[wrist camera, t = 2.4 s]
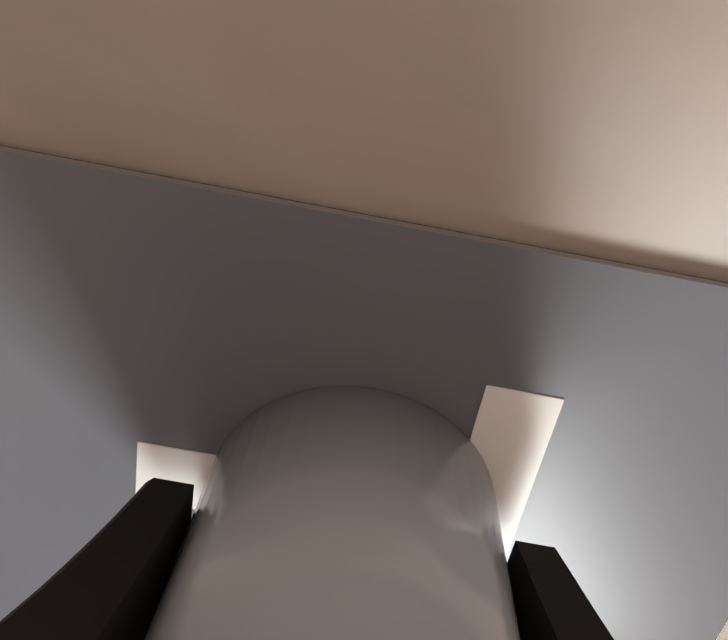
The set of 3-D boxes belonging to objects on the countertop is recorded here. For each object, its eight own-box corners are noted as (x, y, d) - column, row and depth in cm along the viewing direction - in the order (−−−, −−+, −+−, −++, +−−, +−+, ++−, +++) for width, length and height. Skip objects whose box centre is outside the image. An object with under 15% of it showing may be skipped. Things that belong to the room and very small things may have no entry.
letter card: (-38, 630, 14) (-45, 640, 14) (-98, 127, 9) (-110, 130, 9) (644, 743, 14) (648, 753, 14) (896, 315, 10) (907, 322, 10)
